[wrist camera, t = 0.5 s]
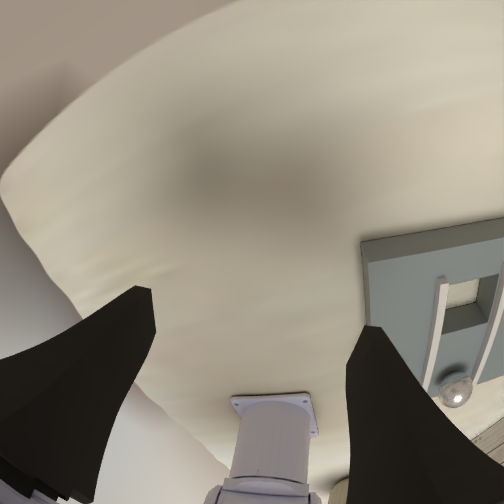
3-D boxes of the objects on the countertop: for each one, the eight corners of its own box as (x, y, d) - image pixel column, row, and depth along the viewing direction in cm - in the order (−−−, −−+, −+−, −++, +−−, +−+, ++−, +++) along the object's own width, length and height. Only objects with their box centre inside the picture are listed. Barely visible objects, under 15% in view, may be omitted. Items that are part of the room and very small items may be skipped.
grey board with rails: (498, 356, 22) (508, 379, 19) (366, 389, 26) (369, 416, 23) (535, 212, 15) (558, 230, 12) (360, 242, 19) (370, 269, 16)
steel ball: (462, 381, 21) (471, 409, 18) (431, 390, 22) (439, 418, 19) (470, 359, 19) (481, 388, 17) (437, 368, 20) (447, 399, 17)
